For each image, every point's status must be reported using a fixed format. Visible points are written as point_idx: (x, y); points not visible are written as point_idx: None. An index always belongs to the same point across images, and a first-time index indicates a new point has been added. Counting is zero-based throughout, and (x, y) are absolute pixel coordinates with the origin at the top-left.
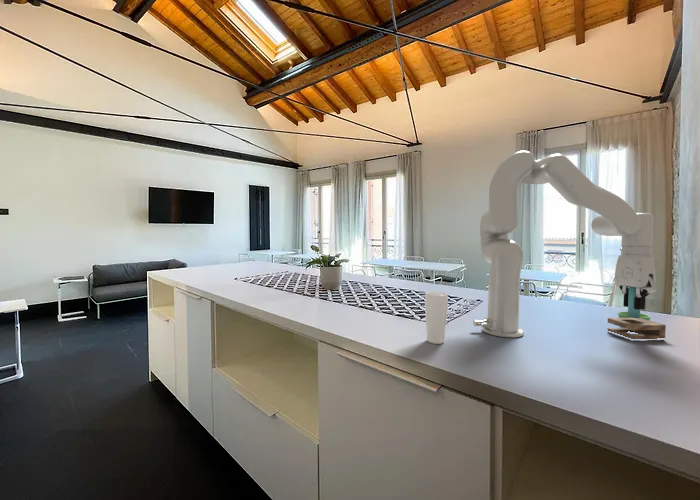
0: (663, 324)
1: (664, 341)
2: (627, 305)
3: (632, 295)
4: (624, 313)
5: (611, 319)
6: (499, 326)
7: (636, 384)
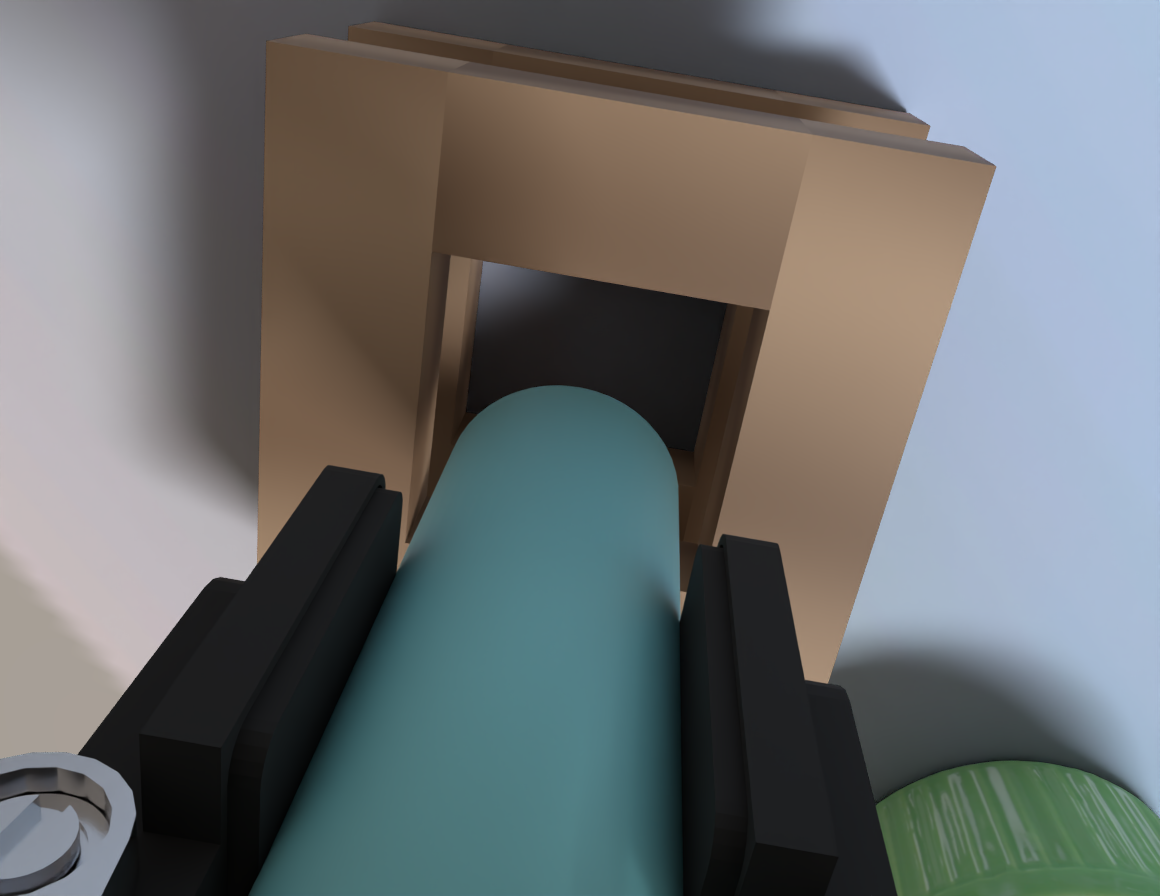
0: None
1: None
2: (687, 610)
3: (363, 837)
4: None
5: (880, 146)
6: None
7: None
